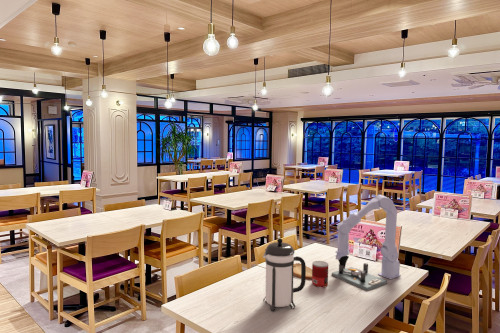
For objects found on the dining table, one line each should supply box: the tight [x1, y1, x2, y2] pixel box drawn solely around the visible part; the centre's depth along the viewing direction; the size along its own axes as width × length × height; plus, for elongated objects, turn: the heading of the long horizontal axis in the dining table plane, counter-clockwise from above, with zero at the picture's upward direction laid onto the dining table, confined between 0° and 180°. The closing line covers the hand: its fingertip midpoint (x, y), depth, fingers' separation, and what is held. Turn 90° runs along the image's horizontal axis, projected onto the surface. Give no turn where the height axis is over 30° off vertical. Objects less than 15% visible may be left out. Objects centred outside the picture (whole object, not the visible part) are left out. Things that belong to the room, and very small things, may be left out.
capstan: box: [338, 262, 369, 282], centre depth 184 cm, size 14×16×4 cm
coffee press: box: [262, 237, 307, 313], centre depth 153 cm, size 17×16×30 cm
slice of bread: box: [293, 262, 312, 281], centre depth 190 cm, size 18×18×4 cm
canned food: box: [311, 260, 329, 288], centre depth 175 cm, size 8×8×11 cm
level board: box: [331, 266, 388, 292], centre depth 182 cm, size 16×23×4 cm
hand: (342, 268), depth 188 cm, fingers closed
